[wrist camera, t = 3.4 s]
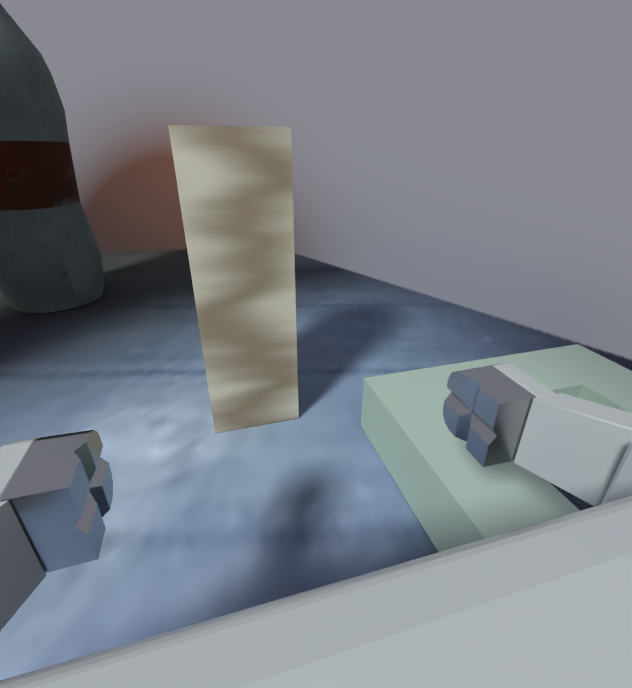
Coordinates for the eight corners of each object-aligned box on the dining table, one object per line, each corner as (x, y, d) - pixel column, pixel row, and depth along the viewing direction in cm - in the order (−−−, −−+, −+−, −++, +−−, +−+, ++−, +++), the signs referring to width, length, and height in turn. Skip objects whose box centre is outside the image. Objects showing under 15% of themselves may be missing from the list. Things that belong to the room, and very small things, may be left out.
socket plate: (580, 784, 9) (628, 727, 7) (360, 425, 20) (363, 377, 19) (916, 610, 12) (990, 549, 11) (563, 387, 24) (577, 344, 22)
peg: (215, 433, 20) (168, 125, 14) (211, 387, 24) (173, 131, 18) (298, 418, 21) (290, 127, 15) (282, 376, 25) (270, 132, 19)
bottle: (7, 293, 40) (-151, -121, 26) (104, 279, 44) (11, -82, 31) (0, 323, 33) (-220, -220, 19) (116, 303, 37) (3, -151, 24)
